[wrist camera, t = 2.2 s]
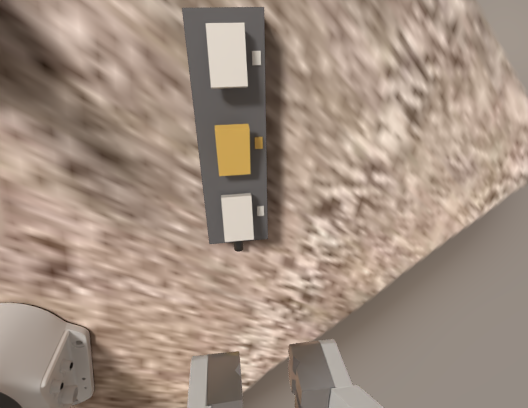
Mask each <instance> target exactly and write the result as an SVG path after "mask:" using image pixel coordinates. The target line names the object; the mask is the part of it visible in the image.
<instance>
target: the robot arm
mask: <svg viewBox="0 0 528 408" xmlns="http://www.w3.org/2000/svg"><path fill="white" fill-rule="evenodd" d="M288 352H289V357H290V360H289V361H288V372H289V380H290V386H291V391H292V393H294V395H295V408H384V407H383V406H382V405H381V404H379V403H378V402H377V401H376V400H375V399H374V398H373V397H371V396H370V395H369V394H368V393H367V392H366V391H364V390H363V389H362V388H361V387H360V386H358V385H353V383H352V381H351V378H350V376H349V374H348V371H347V368H346V366H345V363H344V361H343V358H342V356H341V354H340V351H339V348H338V346H337V344H336V342H335V340H334V339H329V340H321V341H311V342H304V343H296V344H289V350H288ZM93 392H94V379H93V367H92V356H91V344H90V333H89V331H88V330H87V329H86V328H84V327H81V326H78V325H74V324H71V323H67V322H65V321H63V320H62V319H60V318H58V317H57V316H55V315H53V314H52V313H50V312H48V311H45V310H43V309H40V308H37V307H34V306H30V305H25V304H19V303H0V408H71V406H72V405H76V404H79V403H81V402H83V401H85V400H87V399H89V398H90V397H91V396H92V395H93ZM187 408H243V396H242V381H241V369H240V356H239V352H228V353H218V354H209V355H199V356H192V360H191V368H190V380H189V392H188V404H187Z"/></svg>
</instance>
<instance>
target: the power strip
mask: <svg viewBox="0 0 528 408" xmlns="http://www.w3.org/2000/svg"><path fill="white" fill-rule="evenodd" d="M182 12H183V21H184V30H185V38H186V47H187V55H188V64H189V72H190V81H191V90H192V98H193V107H194V115H195V124H196V133H197V141H198V150H199V158H200V167H201V175H202V184H203V193H204V201H205V210H206V218H207V227H208V236H209V244H217V243H228V242H225V238H224V226H223V214H222V202H221V195H231V194H244V193H251V198H252V215H253V233H254V240H262V239H268V224H267V161H266V97H265V34H264V7H225V8H182ZM206 23H244V26H245V44H246V62H247V80H248V87H247V88H221V89H211V82H210V70H209V58H208V46H207V35H206ZM231 124H249V129H250V174H245V175H230V176H219V169H218V158H217V148H216V138H215V125H231ZM243 241H251V240H242V241H231V242H234V250H235V251H242V250H243Z"/></svg>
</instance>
